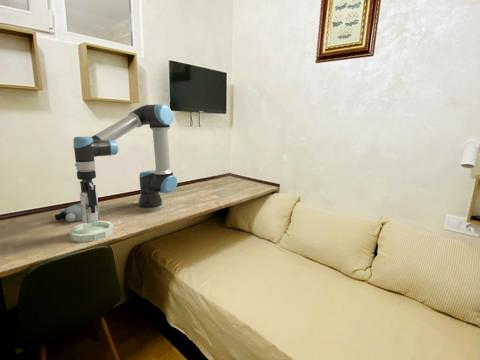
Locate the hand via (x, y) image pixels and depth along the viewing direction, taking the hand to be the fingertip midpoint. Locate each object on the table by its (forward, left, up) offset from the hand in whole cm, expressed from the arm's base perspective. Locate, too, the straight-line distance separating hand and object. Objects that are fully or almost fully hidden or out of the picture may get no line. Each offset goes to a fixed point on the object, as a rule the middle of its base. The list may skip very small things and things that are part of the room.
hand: (90, 217), depth 122 cm
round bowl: (0, 0, -8) cm, 8 cm away
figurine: (-1, -28, -9) cm, 29 cm away
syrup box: (0, 0, -2) cm, 2 cm away
